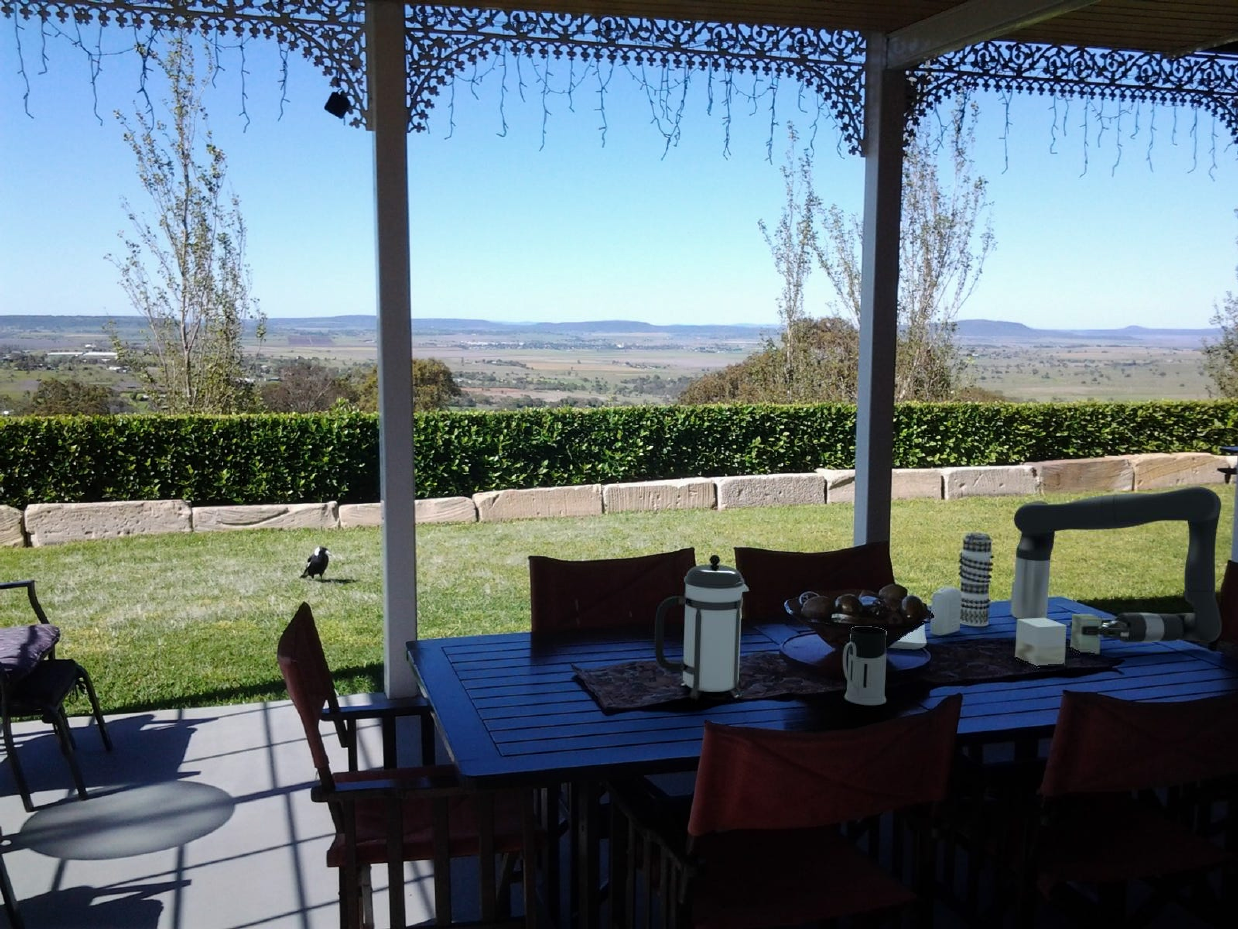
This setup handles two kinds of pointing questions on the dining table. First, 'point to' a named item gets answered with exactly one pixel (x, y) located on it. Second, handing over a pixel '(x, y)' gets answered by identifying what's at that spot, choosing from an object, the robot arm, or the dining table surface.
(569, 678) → the dining table surface
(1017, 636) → the grey block
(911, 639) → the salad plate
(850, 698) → the glass holder
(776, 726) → the dining table surface
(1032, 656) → the ash block
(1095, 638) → the sage block
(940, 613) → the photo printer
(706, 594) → the coffee press
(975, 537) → the decorative candle
